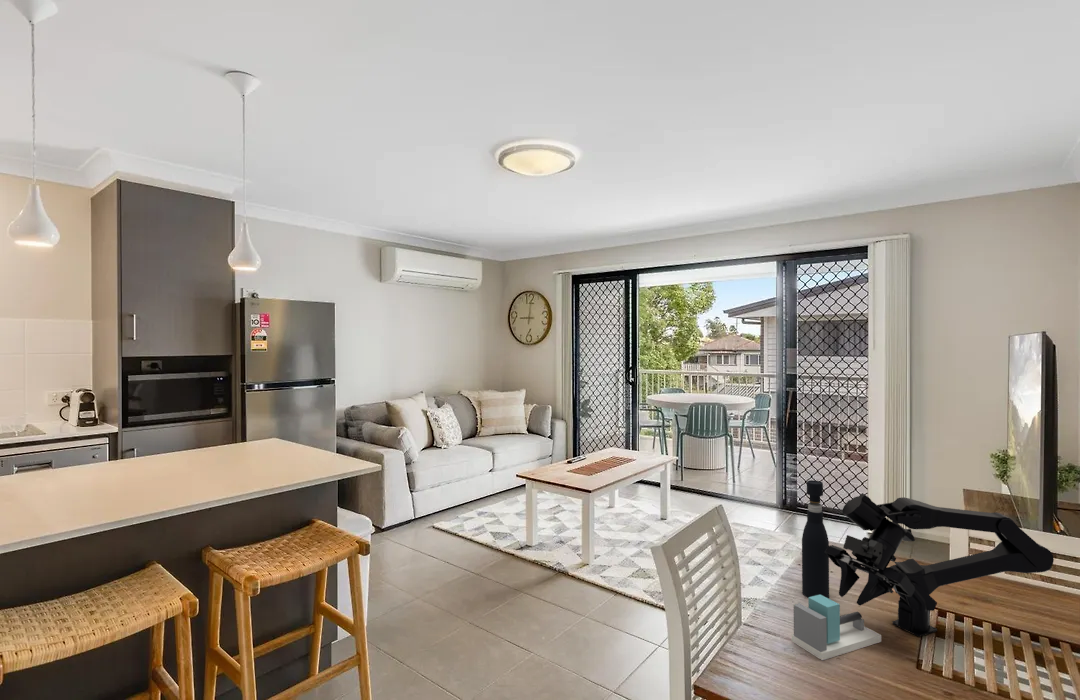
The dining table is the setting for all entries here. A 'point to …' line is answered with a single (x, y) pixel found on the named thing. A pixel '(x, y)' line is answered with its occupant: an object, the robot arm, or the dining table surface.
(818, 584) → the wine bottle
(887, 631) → the dining table surface
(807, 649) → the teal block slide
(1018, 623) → the dining table surface
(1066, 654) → the dining table surface
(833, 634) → the teal block on rod
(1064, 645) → the dining table surface
